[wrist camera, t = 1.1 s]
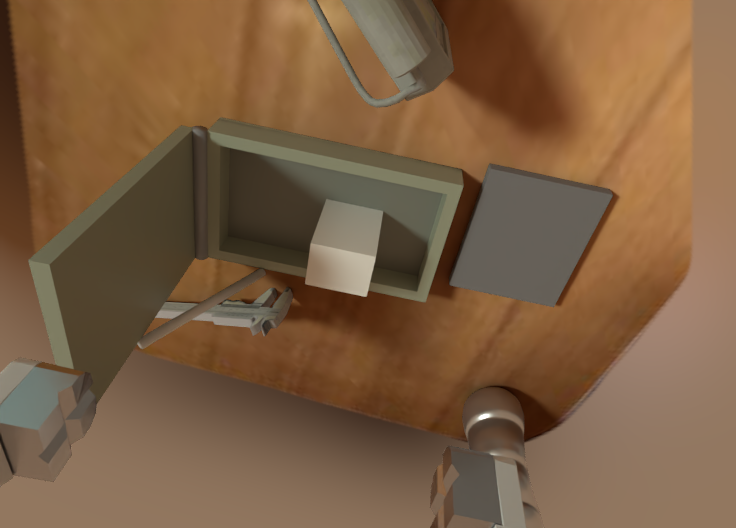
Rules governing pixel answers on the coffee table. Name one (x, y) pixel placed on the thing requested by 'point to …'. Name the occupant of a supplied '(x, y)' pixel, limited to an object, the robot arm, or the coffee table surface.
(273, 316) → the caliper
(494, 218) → the rubber mat
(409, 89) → the geiger counter
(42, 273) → the equipment case
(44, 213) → the coffee table surface
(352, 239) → the block
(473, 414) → the plastic bottle
